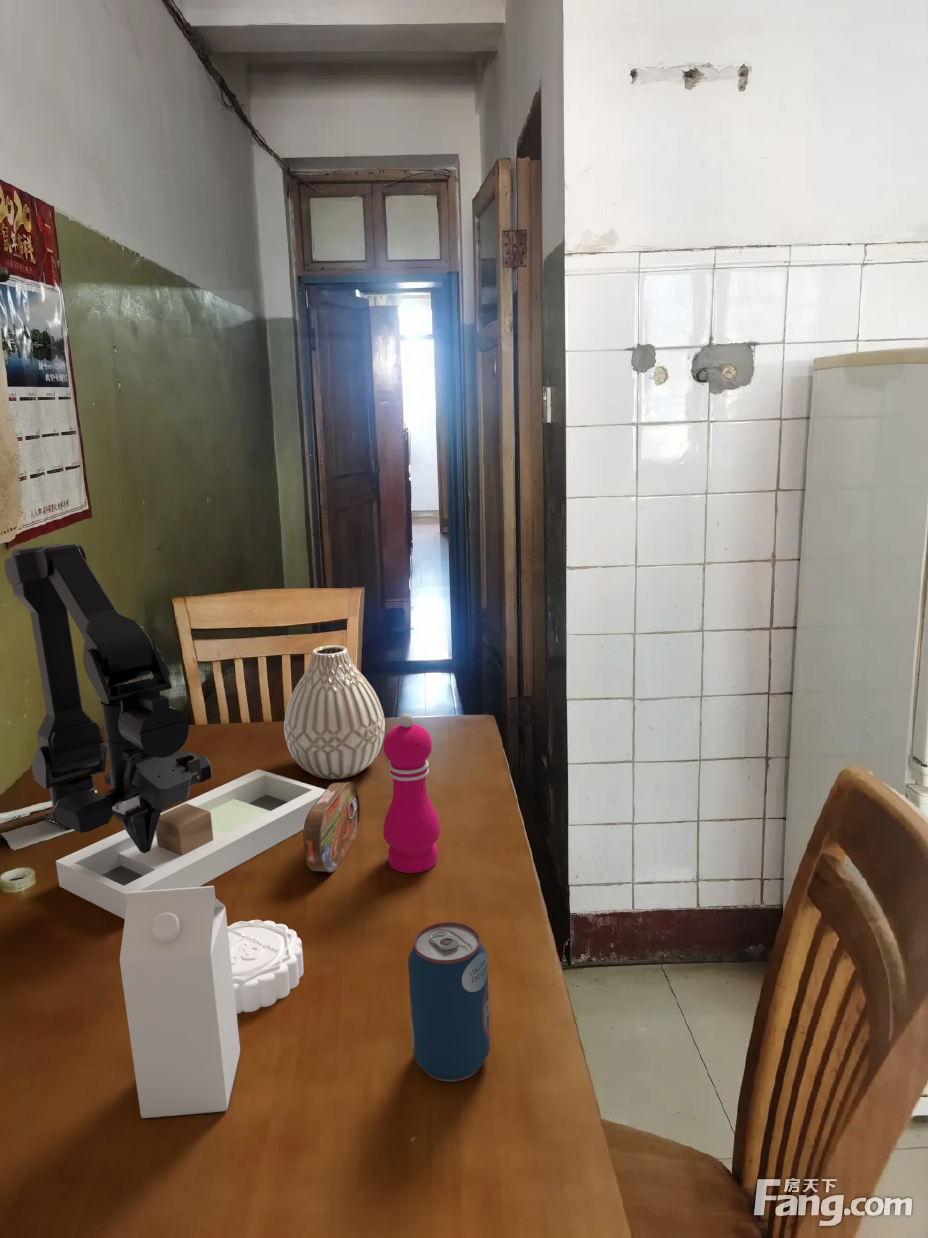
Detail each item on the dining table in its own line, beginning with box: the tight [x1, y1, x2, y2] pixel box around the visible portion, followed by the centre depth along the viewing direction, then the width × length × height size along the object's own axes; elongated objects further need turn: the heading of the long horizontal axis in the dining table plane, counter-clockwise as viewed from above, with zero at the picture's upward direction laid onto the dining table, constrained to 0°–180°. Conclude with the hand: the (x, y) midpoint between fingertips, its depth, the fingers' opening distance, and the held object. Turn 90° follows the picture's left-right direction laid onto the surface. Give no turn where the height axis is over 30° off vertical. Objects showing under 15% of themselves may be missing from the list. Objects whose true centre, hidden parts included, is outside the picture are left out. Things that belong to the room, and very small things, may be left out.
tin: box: [302, 781, 361, 873], centre depth 117 cm, size 15×3×8 cm, turn 168°
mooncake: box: [227, 919, 304, 1015], centre depth 93 cm, size 12×12×4 cm
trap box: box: [55, 768, 326, 920], centre depth 120 cm, size 15×33×4 cm, turn 145°
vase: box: [283, 645, 386, 780], centre depth 143 cm, size 16×16×20 cm
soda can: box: [407, 921, 491, 1082], centre depth 79 cm, size 7×7×12 cm
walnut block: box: [156, 802, 213, 856], centre depth 117 cm, size 5×5×4 cm
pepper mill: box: [382, 713, 441, 874], centre depth 113 cm, size 7×7×20 cm
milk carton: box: [119, 885, 241, 1119], centre depth 76 cm, size 7×7×19 cm
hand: (145, 851), depth 113 cm, fingers closed
